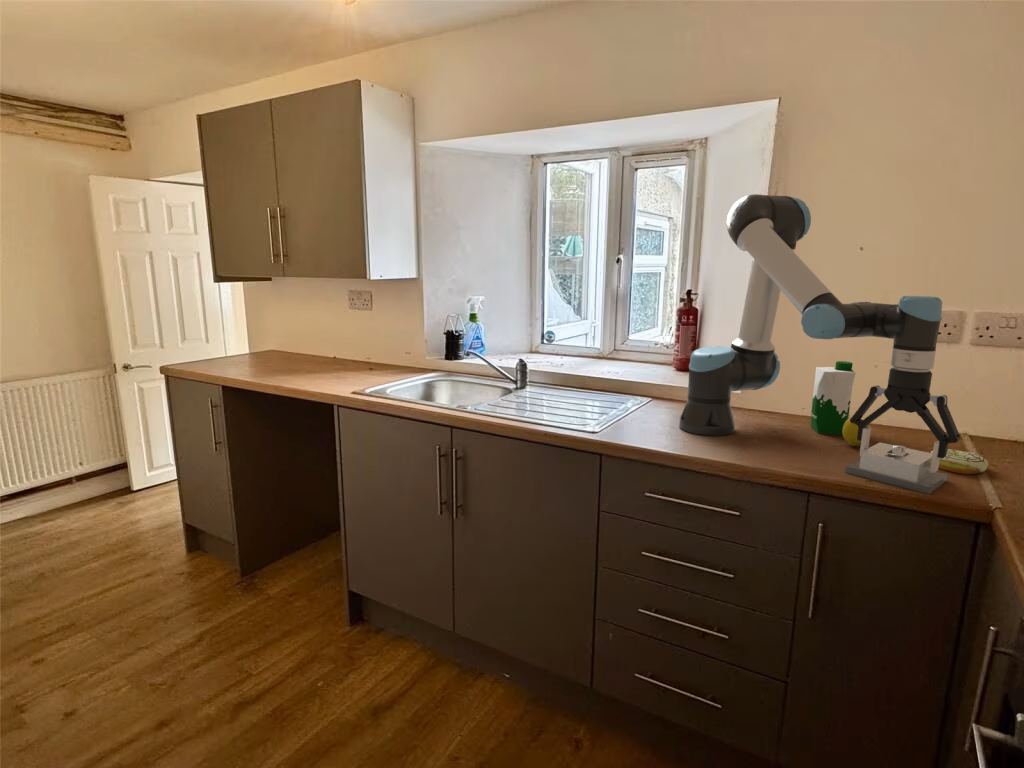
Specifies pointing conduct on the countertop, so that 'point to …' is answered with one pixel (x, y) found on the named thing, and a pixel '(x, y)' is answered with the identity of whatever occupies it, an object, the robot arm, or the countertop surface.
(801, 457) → the countertop surface
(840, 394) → the milk carton
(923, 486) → the fixture
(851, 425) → the lemon
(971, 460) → the decorated donut
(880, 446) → the white boxy piece
